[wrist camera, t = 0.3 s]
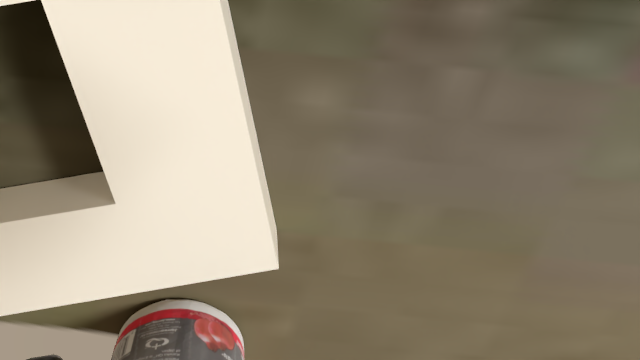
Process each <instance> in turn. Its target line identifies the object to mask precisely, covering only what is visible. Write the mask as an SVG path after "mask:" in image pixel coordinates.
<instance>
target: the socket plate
mask: <svg viewBox="0 0 640 360" xmlns="http://www.w3.org/2000/svg"><path fill="white" fill-rule="evenodd" d="M28 1H34V0H0V6H3V5H9V4H16V3H22V2H28ZM41 2H42V4H43V7H44V10H45V13H46V15H47V18H48V21H49V23H50V26H51V29H52V32H53V34H54V37H55V40H56V43H57V45H58V48H59V51H60V53H61V56H62V59H63V62H64V64H65V67H66V70H67V72H68V75H69V78H70V81H71V83H72V86H73V89H74V92H75V94H76V97H77V100H78V102H79V105H80V108H81V111H82V113H83V116H84V119H85V122H86V124H87V127H88V130H89V132H90V135H91V138H92V141H93V143H94V146H95V149H96V152H97V154H98V157H99V160H100V162H101V165H102V168H103V172H97V173H91V174H85V175H79V176H73V177H67V178H61V179H55V180H49V181H43V182H37V183H31V184H25V185H19V186H13V187H7V188H2V189H0V316H4V315H10V314H16V313H22V312H27V311H33V310H39V309H45V308H51V307H57V306H63V305H69V304H75V303H80V302H86V301H92V300H98V299H104V298H110V297H116V296H122V295H128V294H133V293H139V292H145V291H151V290H157V289H163V288H169V287H175V286H181V285H186V284H192V283H198V282H204V281H210V280H216V279H222V278H228V277H233V276H239V275H245V274H251V273H257V272H263V271H269V270H275V269H279V264H278V246H277V229H276V224H275V219H274V215H273V210H272V205H271V201H270V196H269V191H268V187H267V182H266V177H265V173H264V168H263V163H262V159H261V154H260V149H259V145H258V140H257V135H256V130H255V126H254V121H253V116H252V112H251V107H250V102H249V98H248V93H247V88H246V84H245V79H244V74H243V70H242V65H241V60H240V56H239V51H238V46H237V41H236V37H235V32H234V27H233V23H232V18H231V13H230V9H229V4H228V0H41Z"/></svg>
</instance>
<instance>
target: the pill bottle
mask: <svg viewBox="0 0 640 360" xmlns="http://www.w3.org/2000/svg"><path fill="white" fill-rule="evenodd" d="M111 360H244V342H243V338H242V335H241V333H240V331H239V329H238V327H237V326H236V324H235V323H234V322H233V321H232V320H231V319H230V318H229V317H228V316H227V315H226V314H225V313H223V312H222V311H220V310H218V309H216V308H214V307H212V306H210V305H208V304H205V303H202V302H199V301H194V300H164V301H160V302H157V303H154V304H151V305H149V306H147V307H145V308H143V309H141V310H139V311H137V312H136V313H135V314H133V315H132V316H131V317H130V318H129V319H128V320H127V321H126V323H125V324H124V325H123V327H122V329H121V330H120V333H119V336H118V339H117V342H116V345H115V348H114V351H113V355H112V359H111Z"/></svg>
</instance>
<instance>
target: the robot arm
mask: <svg viewBox="0 0 640 360" xmlns="http://www.w3.org/2000/svg"><path fill="white" fill-rule="evenodd" d="M27 360H63V359H62V358H61V357H60V356H57V355H48V356H42V357H35V358H30V359H27Z"/></svg>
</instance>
